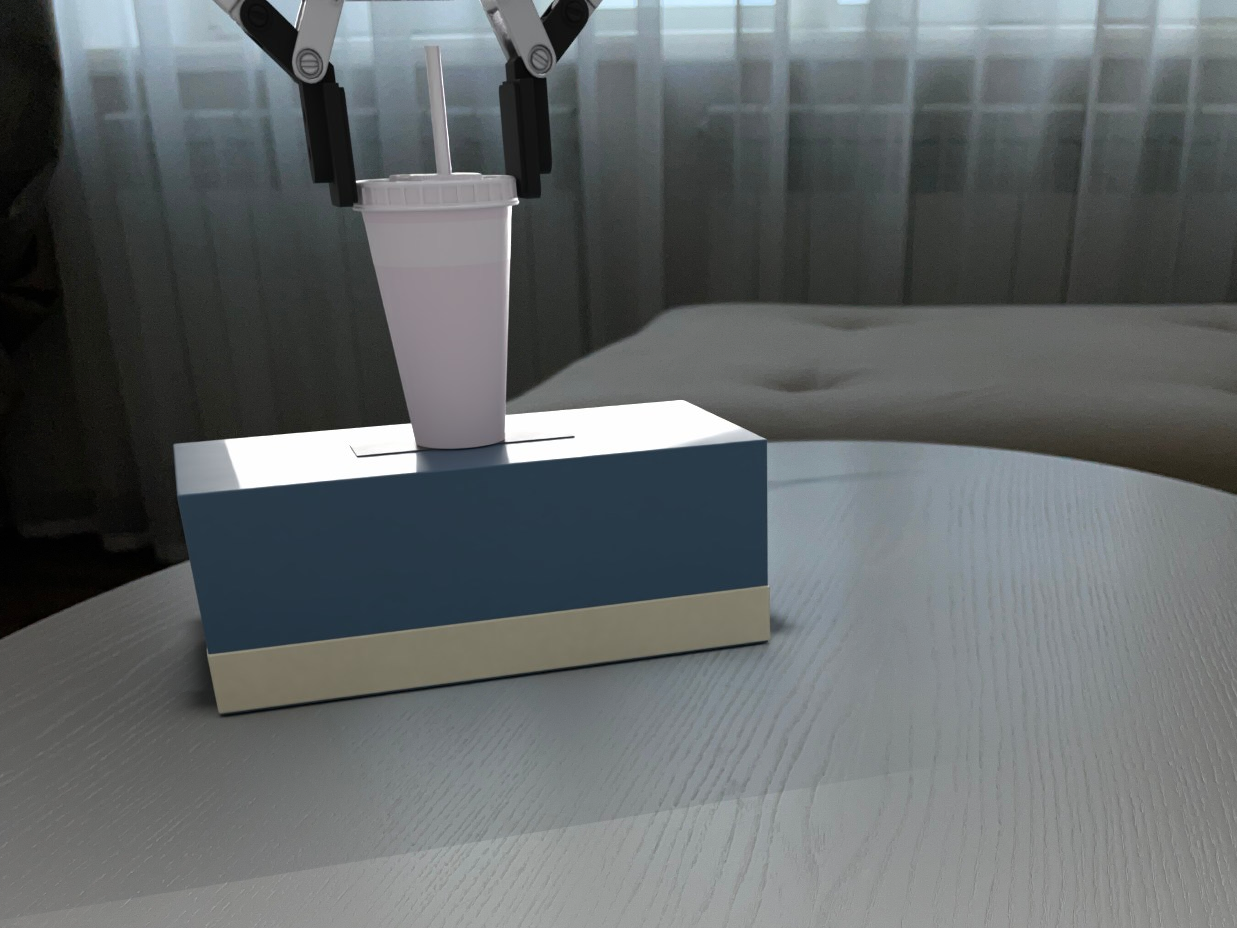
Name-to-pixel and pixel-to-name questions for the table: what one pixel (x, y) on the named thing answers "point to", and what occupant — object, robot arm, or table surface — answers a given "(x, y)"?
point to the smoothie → (445, 287)
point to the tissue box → (472, 551)
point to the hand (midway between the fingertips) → (435, 196)
